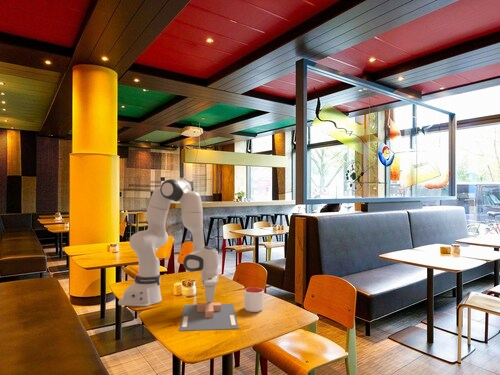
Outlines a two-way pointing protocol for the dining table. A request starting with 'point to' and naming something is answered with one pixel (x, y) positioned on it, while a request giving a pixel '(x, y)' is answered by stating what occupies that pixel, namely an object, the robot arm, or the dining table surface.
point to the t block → (208, 308)
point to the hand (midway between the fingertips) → (209, 304)
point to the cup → (253, 299)
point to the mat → (208, 319)
